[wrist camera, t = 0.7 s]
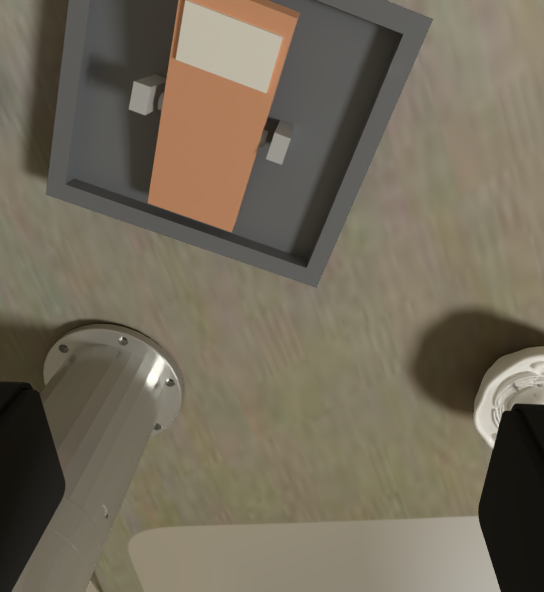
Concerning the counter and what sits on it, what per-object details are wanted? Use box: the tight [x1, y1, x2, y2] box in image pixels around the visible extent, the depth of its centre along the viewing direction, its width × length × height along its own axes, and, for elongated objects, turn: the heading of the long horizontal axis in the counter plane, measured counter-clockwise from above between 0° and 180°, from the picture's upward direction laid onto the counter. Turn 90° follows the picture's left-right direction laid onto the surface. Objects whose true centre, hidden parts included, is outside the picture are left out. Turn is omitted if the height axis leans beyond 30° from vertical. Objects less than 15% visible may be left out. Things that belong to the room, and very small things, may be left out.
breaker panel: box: [46, 0, 433, 287], centre depth 32 cm, size 18×20×6 cm
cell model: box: [473, 346, 544, 450], centre depth 39 cm, size 10×12×7 cm
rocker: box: [148, 0, 300, 232], centre depth 30 cm, size 14×7×2 cm, turn 162°
